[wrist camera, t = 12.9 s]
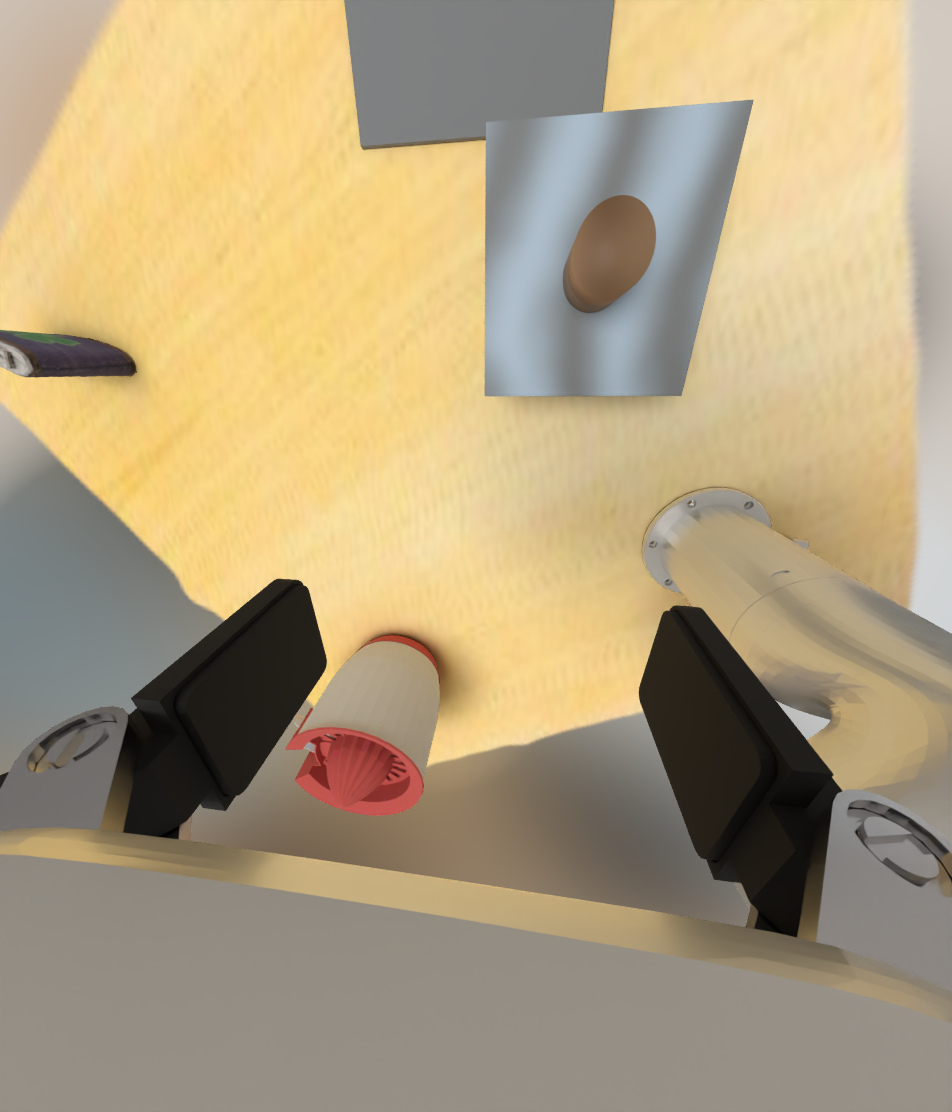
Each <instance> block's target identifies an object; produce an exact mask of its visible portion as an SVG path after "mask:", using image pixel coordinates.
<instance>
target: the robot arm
mask: <svg viewBox="0 0 952 1112" xmlns="http://www.w3.org/2000/svg"><path fill="white" fill-rule="evenodd" d="M688 501H690V502H689V503H688ZM651 541H652V542H651ZM650 542H651V543H650ZM808 547H809V544H808V541H807V540H805V539H788V538H786V537H785V536H783V535H781V534H780V533H778V532H776V531H775V530H773V529H772V525H771V521H770V517H769V515H768V513H767V511H766V509H765V508H764V507H763V506H762V505H761V504H760V503H759V502H758V501H757V500H756V499H754V498H753V497H751V496H749V495H747V494H745V493H743V492H741V491H738V490H734V489H729V488H708V489H701V490H698V491H695V492H692V493H688V494H686V495H684V496H682V497H680V498H678V499H676V500H675V501H673V502H672V503H670V504H669V505H668V506H666V507H665V508H664V509H663V510H662V511H661V512H660V513H659V514H658V515H657V516H656V517H655V518H654V520H653V521H652V522H651V524H650V525H649V527H648V529H647V531H646V533H645V536H644V540H643V543H642V557H643V562H644V564H645V567H646V569H647V571H648V572H649V573H650V575H651V577H652V578H653V579H654V580H655V581H656V582H657V583H658V584H660V585H661V586H663V587H664V588H666V589H669V590H671V591H674V592H678V593H682V594H683V595H684V596H685V598H686V599H687V600H688V601H689V603H690V604H691V605H692V607H690V606H673V607H672V608H671V609H670V611H665V612H664V613H663V615H662V617H661V620H660V624H659V627H658V630H657V633H656V636H655V639H654V643H653V646H652V649H651V652H650V655H649V658H648V662H647V665H646V668H645V671H644V674H643V677H642V680H641V684H640V687H639V699H640V703H641V706H642V708H643V711H644V714H645V716H646V719H647V722H648V724H649V727H650V729H651V732H652V735H653V738H654V740H655V743H656V746H657V749H658V751H659V754H660V757H661V759H662V762H663V765H664V767H665V770H666V773H667V776H668V778H669V781H670V784H671V786H672V789H673V792H674V794H675V797H676V800H677V802H678V805H679V808H680V811H681V813H682V816H683V819H684V821H685V824H686V827H687V829H688V832H689V835H690V837H691V840H692V843H693V845H694V848H695V850H696V852H697V853H698V855H699V856H700V857H701V858H703V859H706V860H707V862H708V865H709V868H710V870H711V873H712V875H713V878H714V879H715V880H722V881H729V882H734V884H735V886H736V888H737V889H738V891H739V893H740V895H741V896H742V898H743V899H744V901H745V903H746V904H747V906H748V907H749V909H750V910H749V914H748V918H747V922H746V926H745V927H740V926H734V925H729V924H724V923H718V922H712V921H707V920H701V919H695V918H690V917H684V916H678V915H673V914H667V913H661V912H655V911H649V910H642V909H636V908H630V907H623V906H616V905H610V904H604V903H598V902H591V901H585V900H579V899H572V898H566V897H559V896H553V895H547V894H540V893H534V892H527V891H521V890H515V889H508V888H502V887H496V886H488V885H482V884H476V883H469V882H462V881H456V880H449V879H442V878H436V877H430V876H422V875H416V874H409V873H403V872H396V871H390V870H383V869H376V868H370V867H363V866H356V865H350V864H343V863H336V862H330V861H323V860H316V859H310V858H303V857H296V856H289V855H282V854H275V853H268V852H261V851H255V850H247V849H241V848H233V847H227V846H220V845H212V844H206V843H199V842H192V841H190V840H191V823H192V814H193V813H194V811H195V810H196V809H197V807H198V806H199V804H201V806H202V807H203V808H208V809H215V810H223V811H226V810H227V808H228V807H229V805H230V804H231V802H232V801H233V799H234V798H235V796H236V795H240V794H241V793H242V792H244V790H245V789H246V788H247V787H248V785H249V784H250V782H251V781H252V779H253V778H254V776H255V775H256V773H257V772H258V770H259V769H260V767H261V766H262V764H263V763H264V761H265V760H266V758H267V757H268V755H269V754H270V752H271V751H272V749H273V748H274V746H275V745H276V743H277V742H278V740H279V738H280V737H281V736H282V734H283V733H284V731H285V729H286V728H287V727H288V725H289V724H290V722H291V721H292V719H293V718H294V716H295V715H296V713H297V712H298V710H299V709H300V707H301V706H302V704H303V703H304V701H305V700H306V698H307V697H308V695H309V694H310V692H311V691H312V689H313V688H314V686H315V685H316V683H317V682H318V680H319V679H320V677H321V676H322V674H323V673H324V671H325V668H326V664H327V659H326V654H325V651H324V647H323V643H322V639H321V635H320V631H319V628H318V624H317V620H316V616H315V612H314V608H313V605H312V601H311V597H310V593H309V590H308V588H307V587H306V586H304V585H303V583H302V582H301V581H299V580H290V579H276V580H274V581H273V582H271V583H270V584H269V585H268V586H267V587H265V588H264V589H263V590H262V591H260V592H259V593H258V594H257V595H256V596H254V597H253V598H252V599H251V600H250V601H248V602H247V603H246V604H245V605H243V606H242V607H241V608H240V609H239V610H237V611H236V612H235V613H234V614H233V615H231V616H230V617H229V618H228V619H226V620H225V621H224V622H223V623H222V624H220V625H219V626H218V627H217V628H216V629H215V630H213V631H212V632H211V633H209V634H208V635H207V636H206V637H205V638H203V639H202V640H201V641H200V642H199V643H197V644H196V645H195V646H194V647H192V648H191V649H190V650H189V651H188V652H186V653H185V654H184V655H183V656H182V657H180V658H179V659H178V660H177V661H175V662H174V663H173V664H172V665H171V666H169V667H168V668H167V669H166V670H165V671H163V672H162V673H161V674H160V675H158V676H157V677H156V678H155V679H154V680H152V681H151V682H150V683H149V684H148V685H146V686H145V687H144V688H143V689H142V690H140V691H139V692H138V693H137V694H135V695H134V696H133V697H132V698H131V699H132V701H133V702H134V704H135V705H136V706H137V709H135V710H134V711H133V712H132V713H131V714H130V715H128V713H127V712H126V711H125V710H124V709H123V708H119V707H114V706H111V707H100V708H97V709H93V710H90V711H86V712H83V713H81V714H78V715H76V716H73V717H71V718H69V719H67V720H65V721H63V722H61V723H59V724H58V725H56V726H54V727H52V728H51V729H49V730H48V731H46V732H45V733H43V734H42V735H41V736H39V737H38V738H36V739H35V740H34V741H33V742H32V743H31V744H30V745H28V746H27V747H26V748H25V749H24V750H23V751H22V753H21V754H20V755H19V757H18V758H17V760H16V761H15V762H14V764H13V766H12V768H11V769H10V771H9V772H7V773H5V774H2V775H0V1112H952V634H951V633H949V632H947V631H946V630H944V629H942V628H940V627H938V626H936V625H935V624H933V623H931V622H929V621H927V620H926V619H924V618H922V617H920V616H918V615H917V614H915V613H913V612H911V611H909V610H908V609H906V608H904V607H902V606H900V605H899V604H897V603H895V602H894V601H892V600H890V599H888V598H887V597H885V596H883V595H882V594H880V593H878V592H877V591H875V590H873V589H872V588H870V587H868V586H867V585H865V584H863V583H862V582H860V581H858V580H856V579H855V578H853V577H851V576H850V575H848V574H846V573H845V572H843V571H841V570H840V569H838V568H836V567H835V566H833V565H831V564H830V563H828V562H826V561H825V560H823V559H821V558H820V557H818V556H816V555H815V554H813V553H811V552H810V551H808ZM775 700H776V701H778V702H780V703H782V704H785V705H787V706H789V707H791V708H794V709H797V710H799V711H802V712H806V713H809V714H812V715H815V716H819V717H822V718H826V719H829V720H830V722H829V724H828V725H827V726H826V727H825V728H824V729H822V730H821V731H819V732H818V733H817V734H815V735H814V736H812V737H811V738H809V739H808V740H806V739H805V737H804V736H803V735H802V734H801V732H800V731H799V730H798V729H797V727H796V726H795V725H794V723H793V722H792V721H791V720H790V719H789V717H788V716H787V715H786V713H785V712H784V711H783V710H782V708H781V707H780V706H779V704H778V703H777V702H776V701H775Z"/></svg>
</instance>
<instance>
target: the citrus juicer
mask: <svg viewBox="0 0 952 1112" xmlns="http://www.w3.org/2000/svg"><path fill="white" fill-rule="evenodd" d="M439 684H440V679H439V672H438V668H437V664H436V662H435V659H434V657H433V656H432V654H431V653H430V652H429V651H428V650H427V649H426V648H425V647H424V646H423V645H421V644H420V643H418V642H416V641H414V640H412V639H409V638H407V637H402V636H396V635H388V636H382V637H378V638H376V639H374V640H372V641H370V642H369V643H367V644H365V645H364V646H362V647H361V648H360V649H359V650H358V651H357V652H356V653H355V654H354V655H353V656H352V657H351V658H350V659H348V660H347V661H346V663H345V664H344V665H343V666H342V667H341V668H340V669H339V670H338V672H337V673H336V674H335V676H334V677H333V679H332V680H331V681H330V683H329V685H328V686H327V688H326V689H325V691H324V693H323V694H322V696H321V698H320V699H319V701H318V702H317V704H316V706H315V707H314V709H313V708H311V709H310V711H309V712H308V714H307V715H306V717H302V716H299V715H295V716H294V720H293V721H294V723H295V725H297V726H298V730H297V731H296V733H295V735H294V736H293V738H292V739H291V741H290V742H289V744H288V746H287V747H286V750H297V749H298V750H299V749H303V748H306V749H308V750H309V751H310V752H309V754H308V756H307V758H306V760H305V761H304V763H303V765H302V767H301V769H300V771H299V773H298V775H297V777H296V779H295V781H296V782H297V783H298V784H299V785H300V786H301V787H302V788H303V789H304V790H305V791H307V792H308V793H310V794H311V795H312V796H314V797H315V798H317V799H319V800H321V801H322V802H324V803H327V804H329V805H331V806H333V807H336V808H339V809H343V810H345V811H349V812H353V813H358V814H365V815H390V814H395V813H399V812H403V811H405V810H407V809H409V808H411V807H412V806H413V805H414V804H416V803H417V802H418V800H419V798H420V797H421V795H422V793H423V788H424V784H423V778H424V774H425V770H426V765H427V761H428V757H429V753H430V749H431V745H432V740H433V736H434V732H435V728H436V723H437V718H438V712H439V706H440V688H439Z"/></svg>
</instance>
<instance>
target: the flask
mask: <svg viewBox="0 0 952 1112" xmlns="http://www.w3.org/2000/svg"><path fill="white" fill-rule="evenodd" d="M0 367H3V368H5V369H7V370H9V371H11V372H13V373H14V374H17V375H20V376H23V377H64V376H69V377H72V376H81V377H86V376H132V375H134V374H135V373H137V371H136V366H135V362H134V361H133V359H132V357H130V356H129V355H128V354H127V353H125V352H123V351H122V350H120V349H119V348H116V347H113V346H111V345H109V344H107V343H103V342H100V341H98V340H97V341H96V340H93V339H90V338H88V339H87V338H81V337H76V336H75V337H74V336H68V335H59V334H42V333H29V332H18V331H5V330H0Z"/></svg>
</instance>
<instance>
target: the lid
mask: <svg viewBox="0 0 952 1112" xmlns="http://www.w3.org/2000/svg"><path fill="white" fill-rule="evenodd" d="M752 104H753V100H744V101H732V102H720V103H709V104H697V105H685V106H673V107H661V108H649V109H637V110H626V111H614V112H602V113H590V114H578V115H566V116H554V117H542V118H531V119H519V120H507V121H495V122H486V228H485V396H681V395H682V391H683V387H684V383H685V379H686V374H687V370H688V366H689V362H690V358H691V354H692V350H693V346H694V342H695V338H696V333H697V329H698V325H699V321H700V317H701V313H702V309H703V305H704V301H705V297H706V293H707V288H708V284H709V280H710V276H711V272H712V268H713V264H714V260H715V256H716V252H717V248H718V243H719V239H720V235H721V231H722V227H723V223H724V219H725V215H726V211H727V207H728V203H729V198H730V194H731V190H732V186H733V182H734V178H735V174H736V170H737V166H738V162H739V158H740V153H741V149H742V145H743V141H744V137H745V133H746V129H747V125H748V121H749V117H750V112H751V108H752Z"/></svg>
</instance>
